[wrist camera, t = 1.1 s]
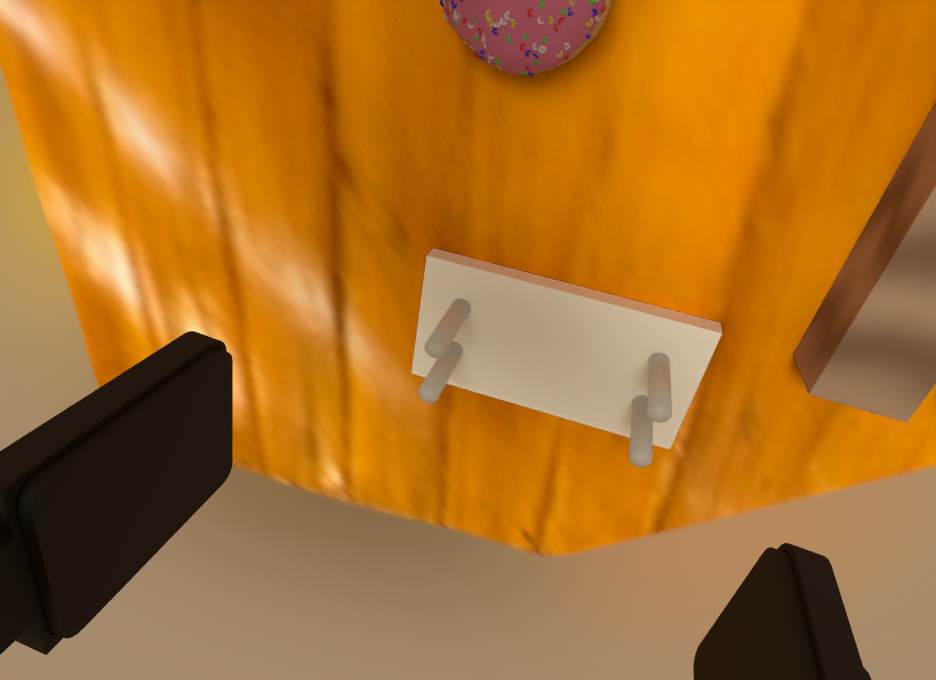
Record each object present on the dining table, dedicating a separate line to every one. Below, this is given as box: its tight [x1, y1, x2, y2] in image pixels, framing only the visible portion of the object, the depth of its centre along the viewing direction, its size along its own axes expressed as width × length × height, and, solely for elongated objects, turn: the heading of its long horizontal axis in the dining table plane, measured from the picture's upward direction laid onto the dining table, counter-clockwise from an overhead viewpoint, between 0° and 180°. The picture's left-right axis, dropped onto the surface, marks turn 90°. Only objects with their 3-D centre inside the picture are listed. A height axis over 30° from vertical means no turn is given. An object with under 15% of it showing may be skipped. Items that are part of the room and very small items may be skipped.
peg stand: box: [412, 248, 722, 467], centre depth 40 cm, size 20×10×8 cm, turn 81°
